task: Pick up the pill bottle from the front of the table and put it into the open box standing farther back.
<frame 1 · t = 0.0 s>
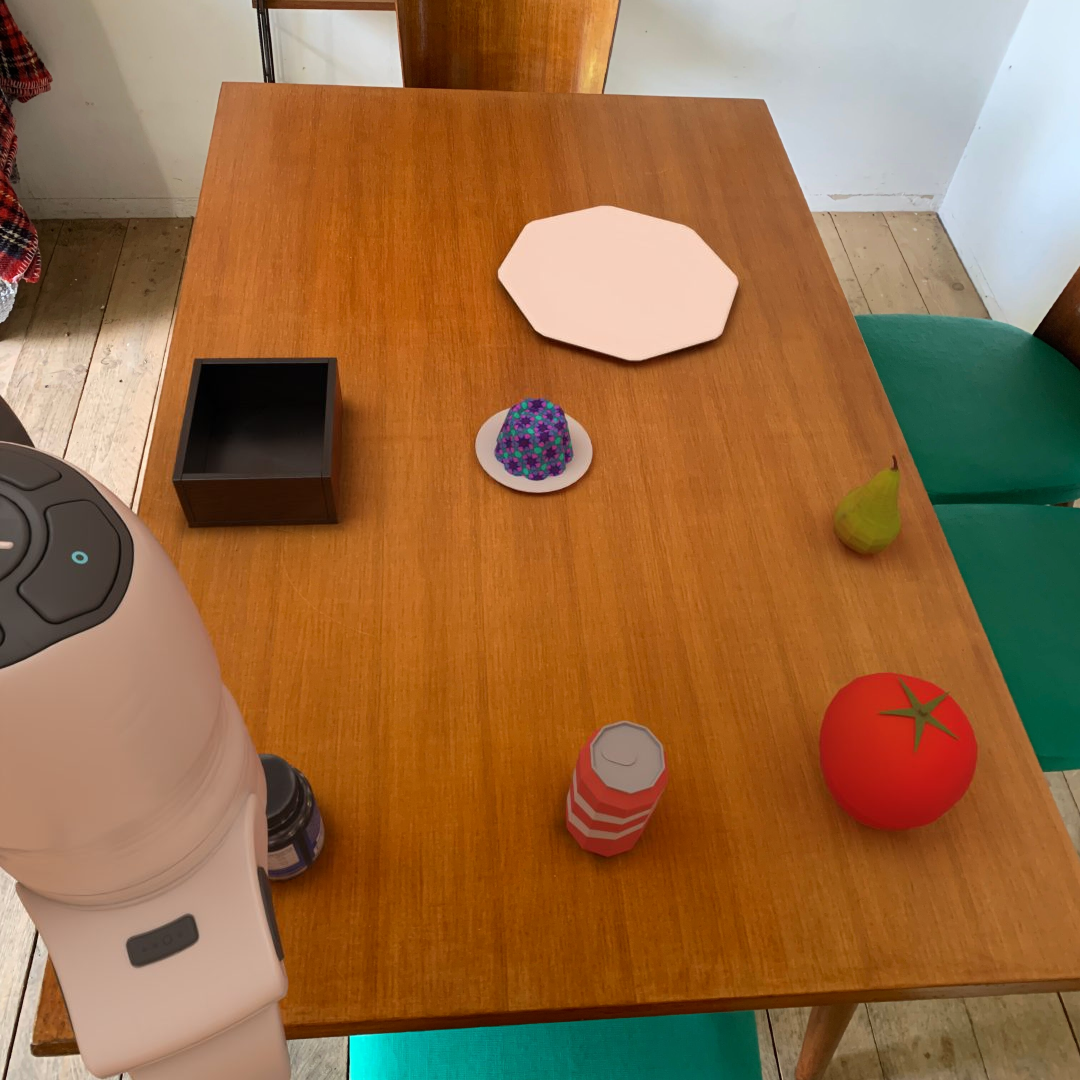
hand: (214, 901, 45), 22 cm above the table, tool pointing down, fingers open, 8 cm apart
tomato: (862, 785, 75), on the table
plate: (617, 287, 112), on the table
pudding: (533, 453, 94), on the table
fruit: (855, 540, 91), on the table
open box: (270, 463, 91), on the table
beverage can: (603, 819, 72), on the table
pill bottle: (284, 843, 69), on the table
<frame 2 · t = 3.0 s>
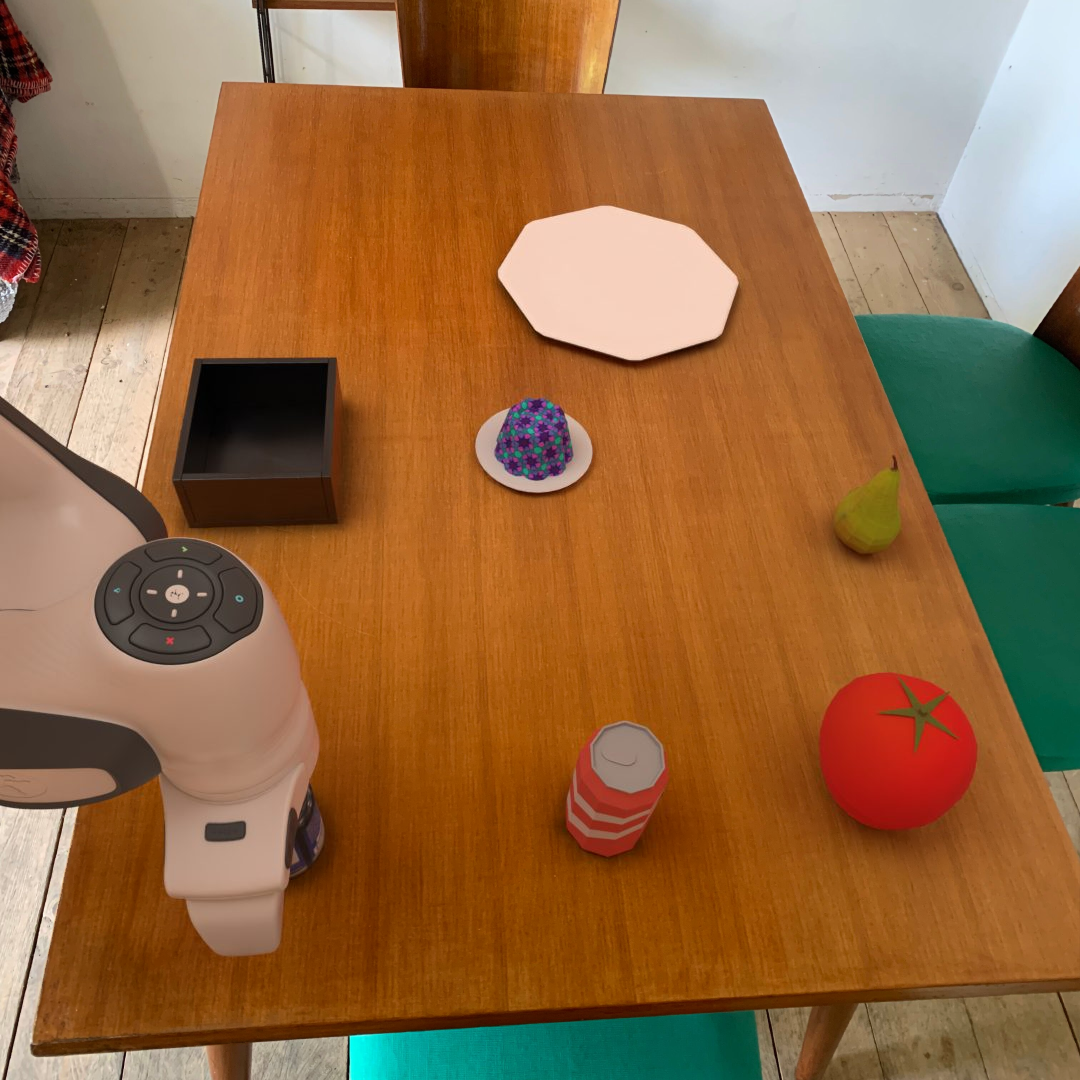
hand: (276, 822, 65), 4 cm above the table, tool pointing down, fingers closed on pill bottle, 6 cm apart
pill bottle: (284, 843, 69), on the table, touching gripper
everything else where it was.
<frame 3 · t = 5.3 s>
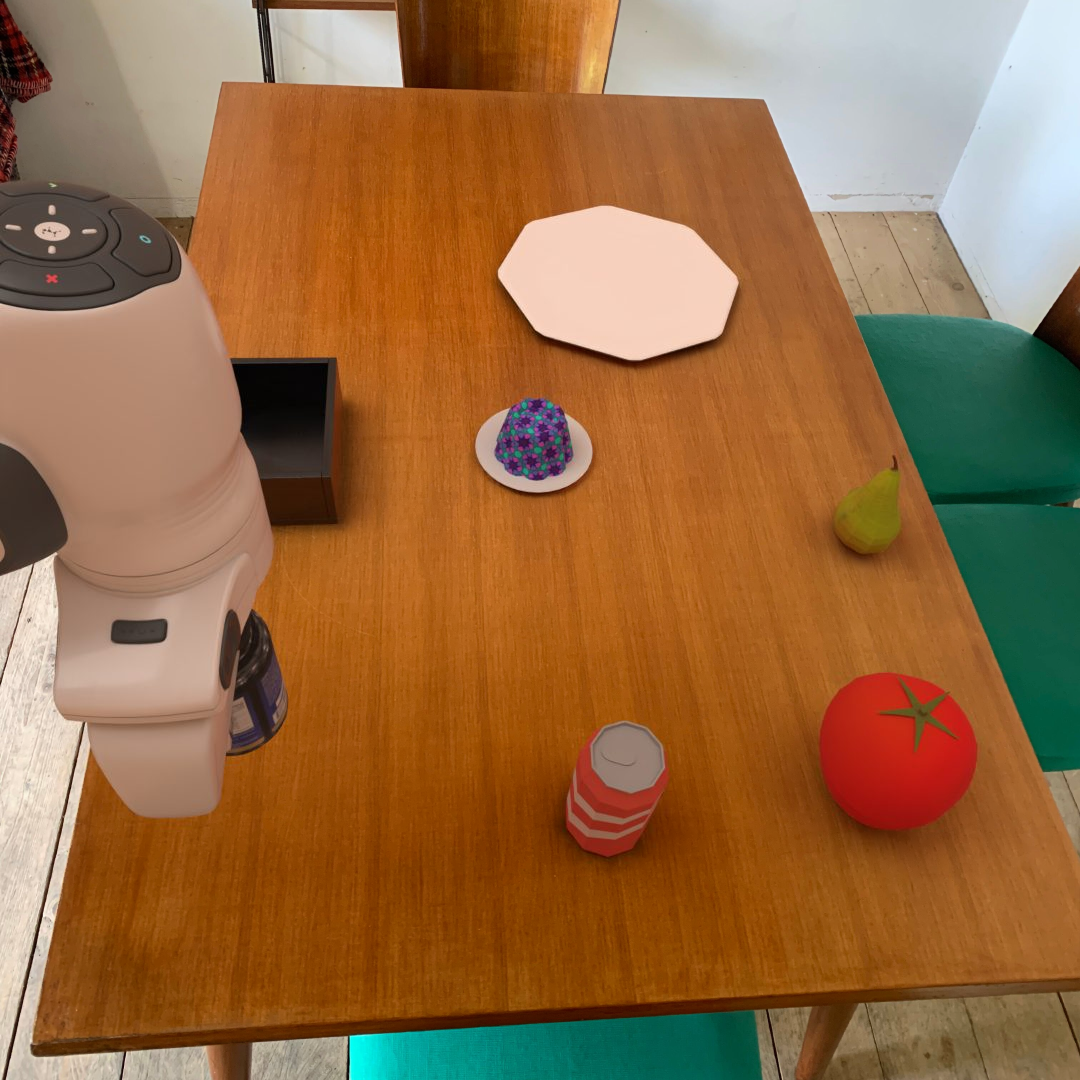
hand: (225, 680, 53), 22 cm above the table, tool pointing down, fingers closed on pill bottle, 6 cm apart
pill bottle: (238, 714, 56), point 17 cm above the table, touching gripper
everything else where it was.
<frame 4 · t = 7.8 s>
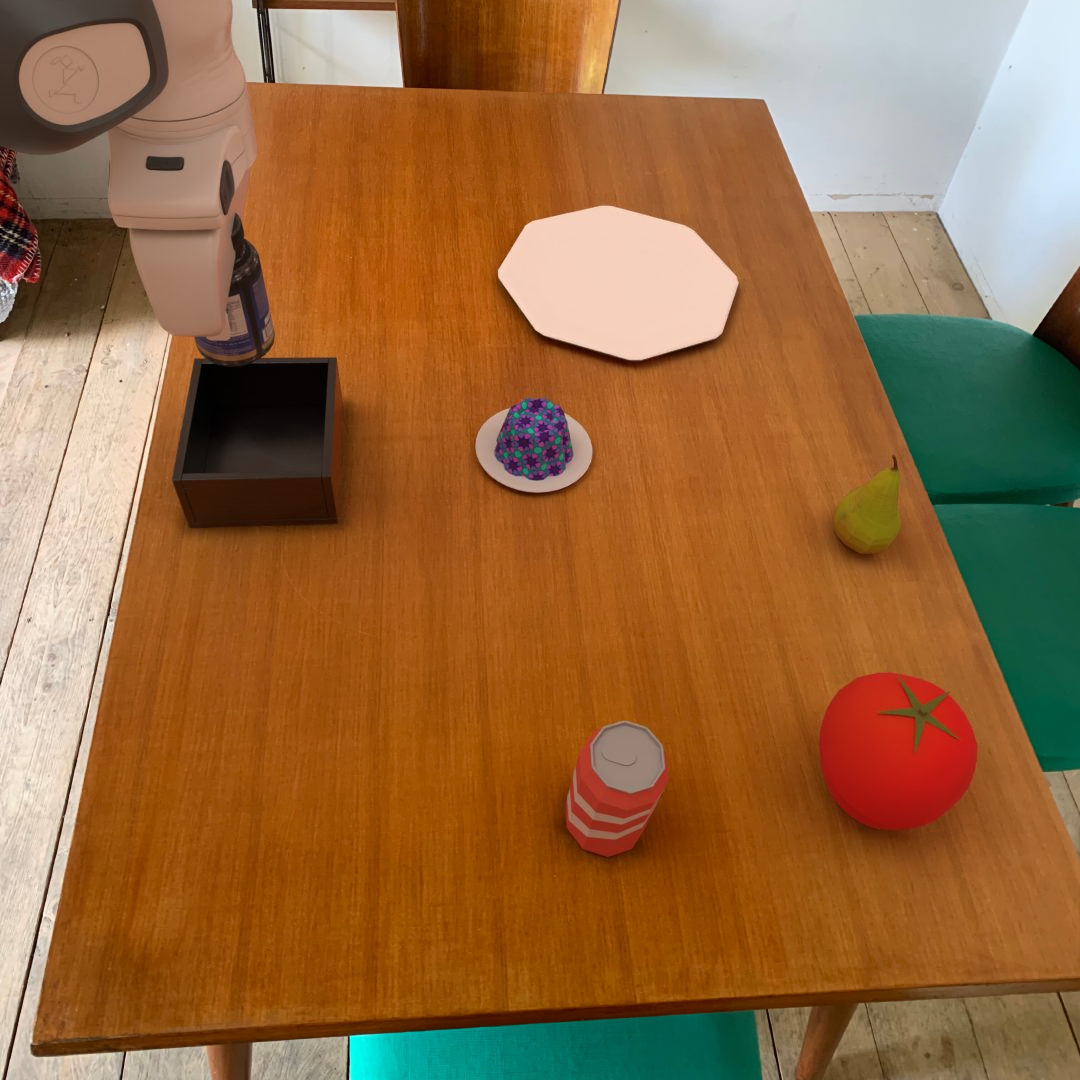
hand: (225, 301, 70), 23 cm above the table, tool pointing down, fingers closed on pill bottle, 6 cm apart
pill bottle: (237, 345, 74), point 19 cm above the table, touching gripper
everything else where it was.
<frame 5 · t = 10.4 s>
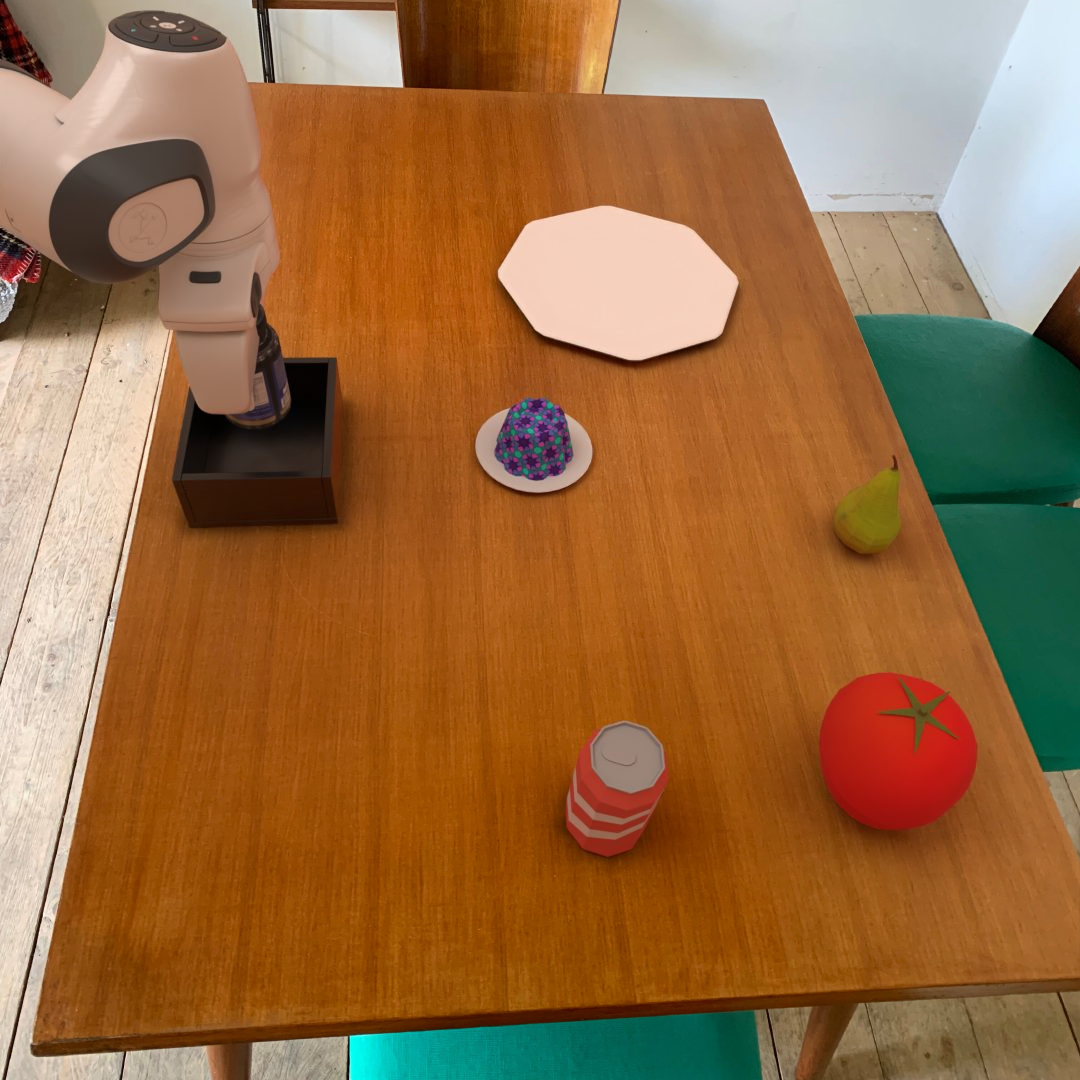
hand: (249, 375, 81), 12 cm above the table, tool pointing down, fingers closed on pill bottle, 6 cm apart
pill bottle: (258, 410, 85), point 7 cm above the table, touching gripper
everything else where it was.
when the fingers open (5 cm above the table, at t = 12.7 s): pill bottle stays where it is, resting on open box.
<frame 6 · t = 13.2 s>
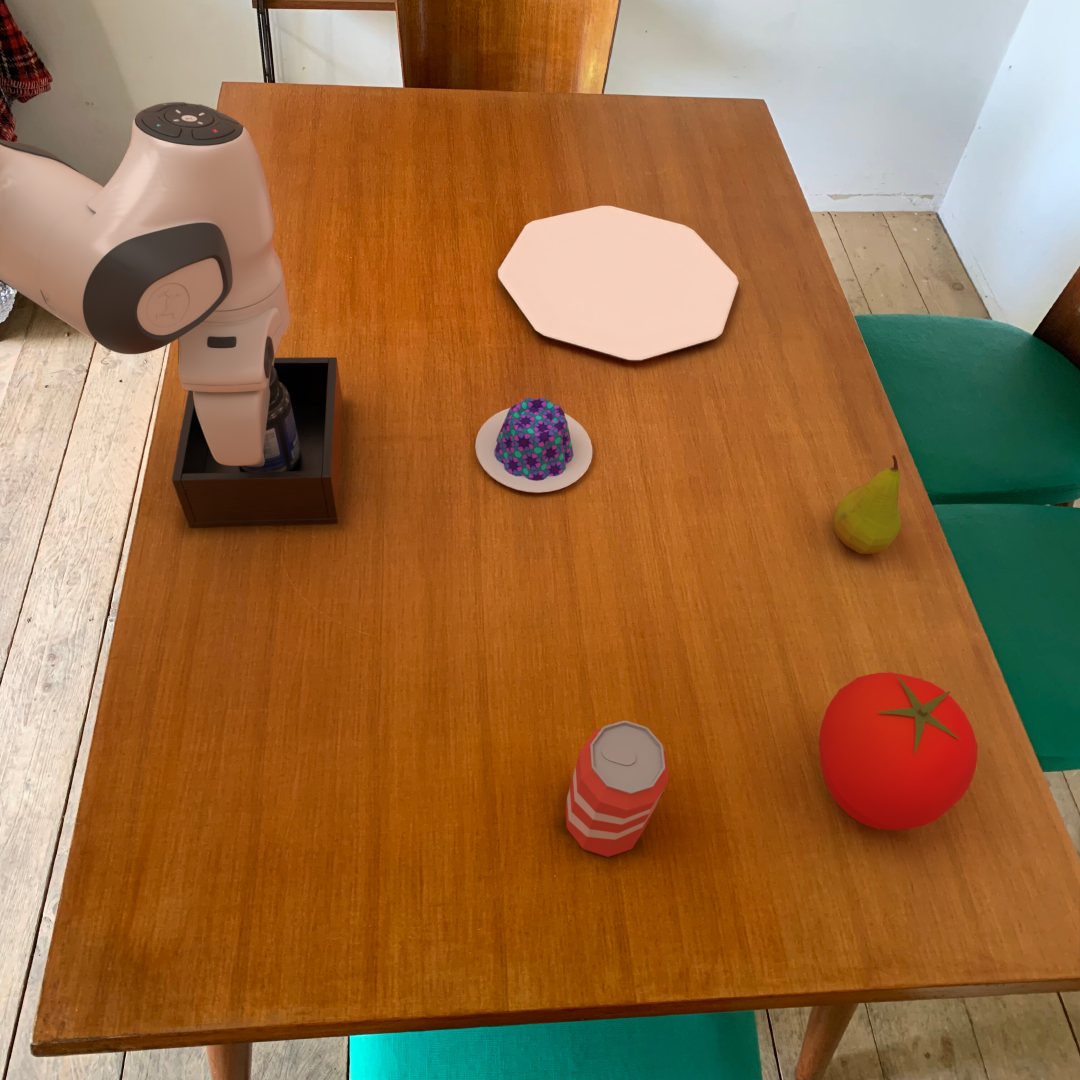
hand: (260, 423, 86), 6 cm above the table, tool pointing down, fingers open, 8 cm apart
pill bottle: (269, 459, 90), point 1 cm above the table, touching open box
everything else where it was.
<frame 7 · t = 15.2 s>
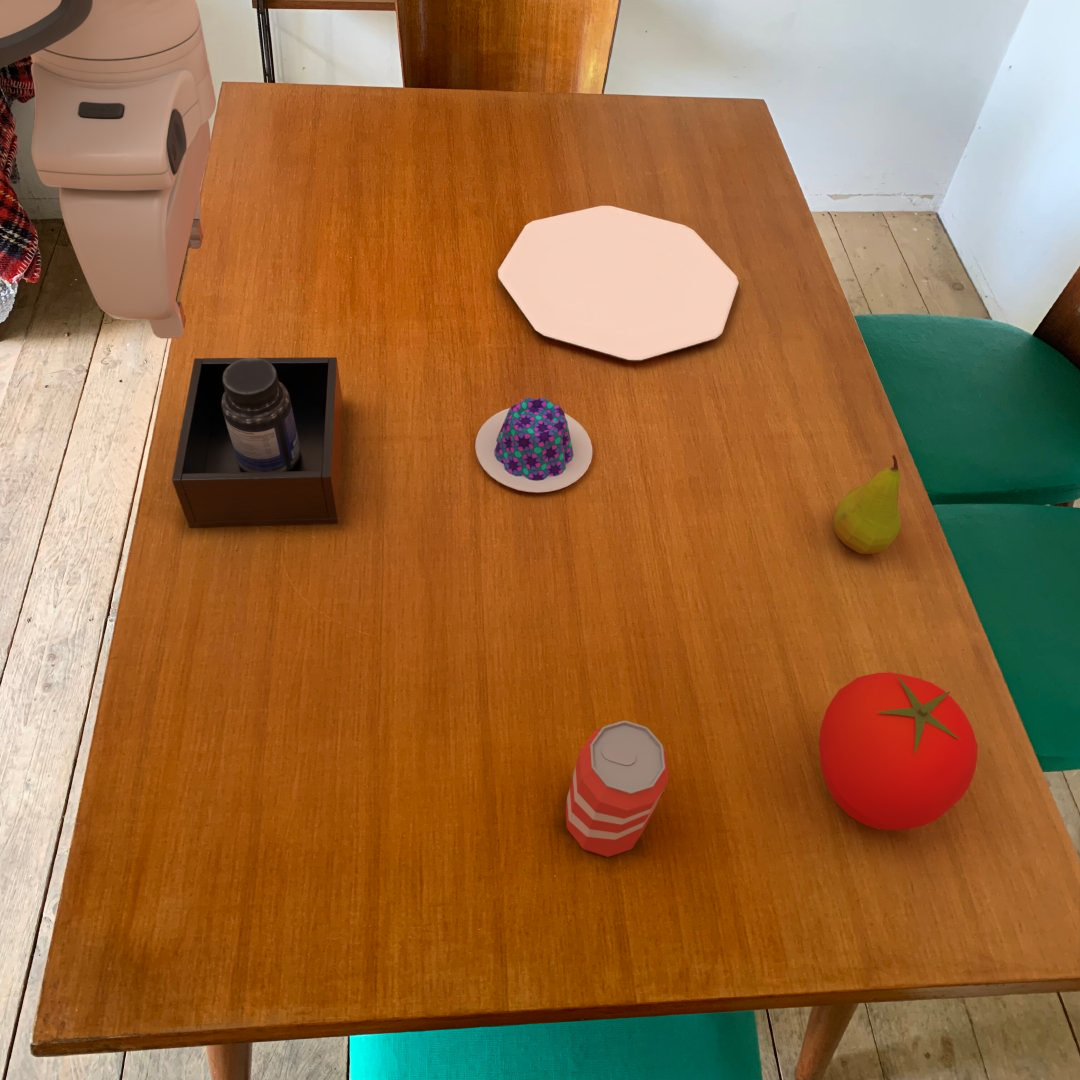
hand: (181, 285, 61), 29 cm above the table, tool pointing down, fingers open, 8 cm apart
nothing on the table moved.
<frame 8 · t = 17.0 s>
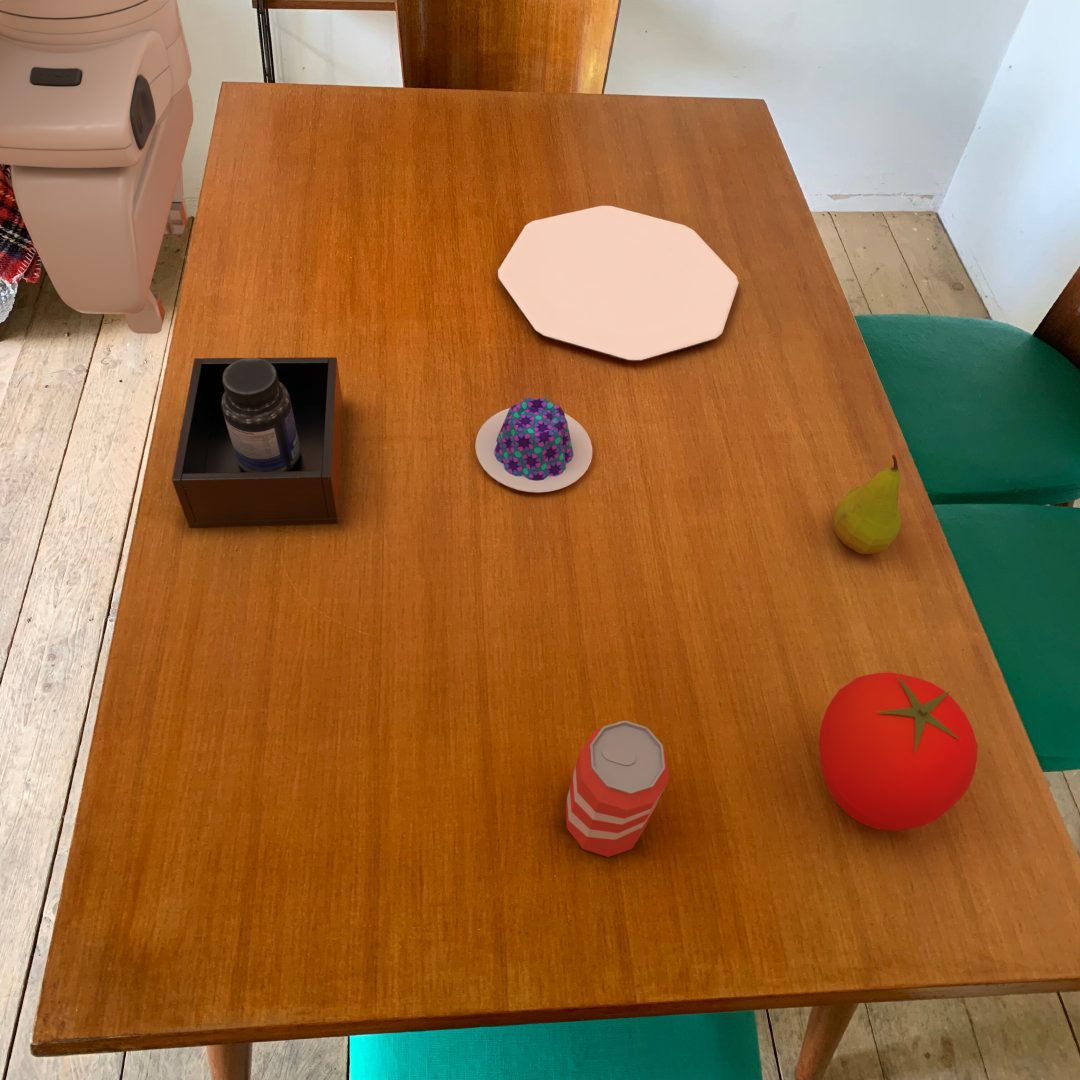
hand: (162, 274, 56), 33 cm above the table, tool pointing down, fingers open, 8 cm apart
nothing on the table moved.
at the end: pill bottle inside the target area in the open box (0.0 cm from its centre), point 0.6 cm above the open box's base; the gripper is holding nothing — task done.
